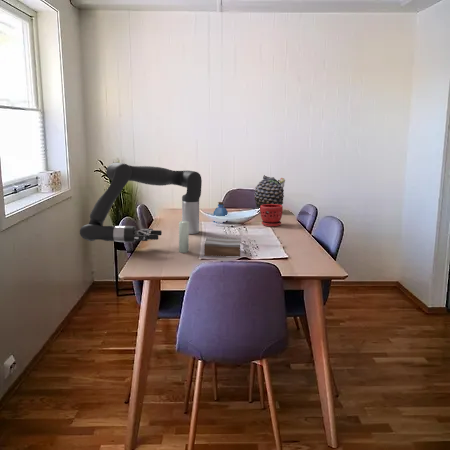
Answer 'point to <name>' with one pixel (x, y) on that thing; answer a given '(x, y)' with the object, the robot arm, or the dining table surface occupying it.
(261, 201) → the round potted cactus
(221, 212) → the perfume bottle
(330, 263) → the dining table surface
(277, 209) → the plant pot
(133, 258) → the dining table surface
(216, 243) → the stand
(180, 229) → the pale green cylinder
